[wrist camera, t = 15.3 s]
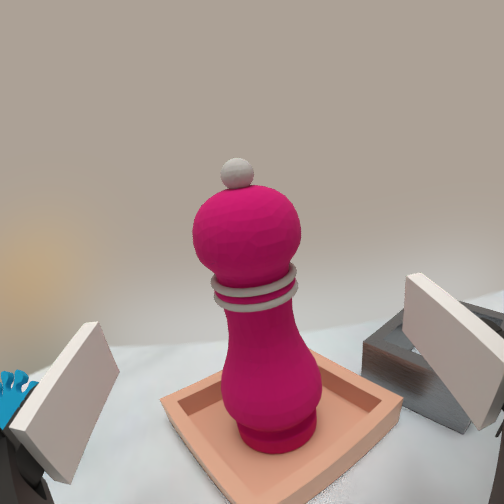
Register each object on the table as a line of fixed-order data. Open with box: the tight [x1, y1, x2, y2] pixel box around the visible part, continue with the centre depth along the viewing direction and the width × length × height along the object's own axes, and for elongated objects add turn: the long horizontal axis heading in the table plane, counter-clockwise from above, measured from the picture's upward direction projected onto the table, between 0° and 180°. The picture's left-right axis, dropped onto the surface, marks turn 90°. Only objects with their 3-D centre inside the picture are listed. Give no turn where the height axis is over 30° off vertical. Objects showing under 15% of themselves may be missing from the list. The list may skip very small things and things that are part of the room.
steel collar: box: [361, 300, 504, 434], centre depth 24 cm, size 11×11×5 cm
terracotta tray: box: [160, 348, 403, 504], centre depth 22 cm, size 14×14×3 cm
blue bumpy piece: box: [0, 370, 39, 430], centre depth 21 cm, size 11×6×10 cm
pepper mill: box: [193, 158, 322, 454], centre depth 19 cm, size 7×7×20 cm
